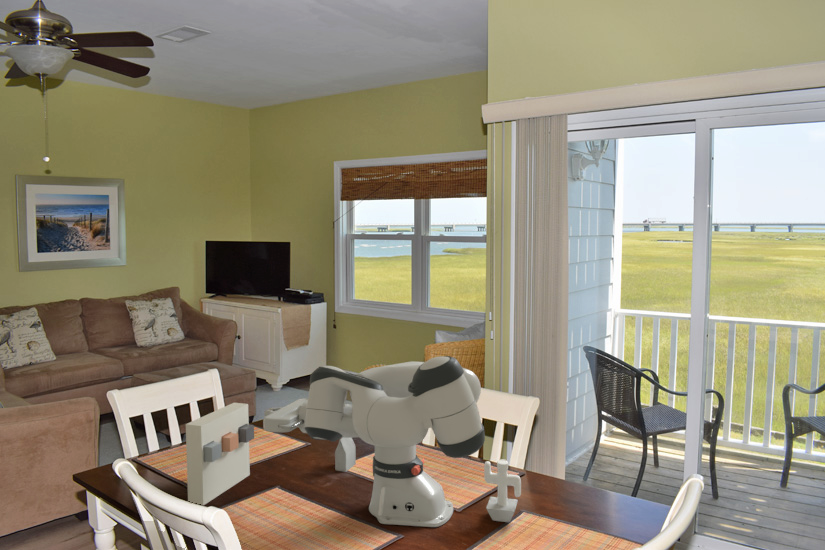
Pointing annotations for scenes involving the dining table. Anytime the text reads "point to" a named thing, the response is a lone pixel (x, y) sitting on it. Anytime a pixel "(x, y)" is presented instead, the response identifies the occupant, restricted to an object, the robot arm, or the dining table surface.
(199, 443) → the control panel
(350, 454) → the white carton box
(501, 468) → the figurine
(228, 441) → the terracotta button
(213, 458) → the slate grey button
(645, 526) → the dining table surface
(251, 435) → the charcoal button
